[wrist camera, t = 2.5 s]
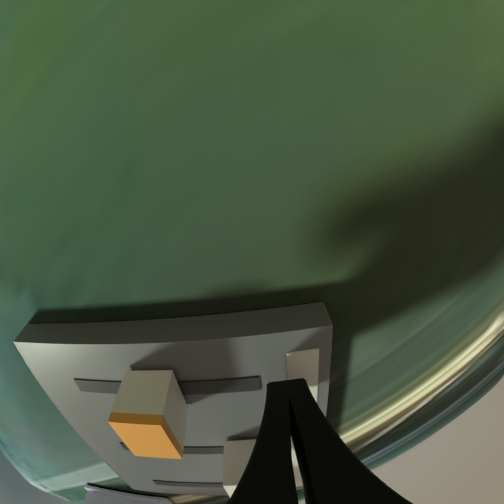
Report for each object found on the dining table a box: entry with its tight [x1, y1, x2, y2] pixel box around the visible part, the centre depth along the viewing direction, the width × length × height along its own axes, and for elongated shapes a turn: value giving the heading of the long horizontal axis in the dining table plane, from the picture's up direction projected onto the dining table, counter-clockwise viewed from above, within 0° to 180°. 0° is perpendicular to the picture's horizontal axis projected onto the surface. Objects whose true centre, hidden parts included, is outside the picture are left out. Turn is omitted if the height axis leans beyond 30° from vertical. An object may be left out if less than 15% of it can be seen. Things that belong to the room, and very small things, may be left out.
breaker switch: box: [108, 370, 189, 459], centre depth 10 cm, size 2×2×3 cm
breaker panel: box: [14, 302, 333, 497], centre depth 13 cm, size 14×16×4 cm
